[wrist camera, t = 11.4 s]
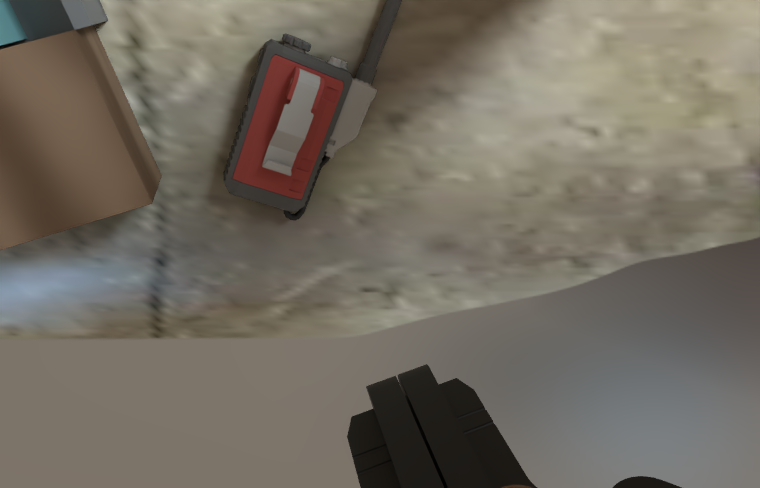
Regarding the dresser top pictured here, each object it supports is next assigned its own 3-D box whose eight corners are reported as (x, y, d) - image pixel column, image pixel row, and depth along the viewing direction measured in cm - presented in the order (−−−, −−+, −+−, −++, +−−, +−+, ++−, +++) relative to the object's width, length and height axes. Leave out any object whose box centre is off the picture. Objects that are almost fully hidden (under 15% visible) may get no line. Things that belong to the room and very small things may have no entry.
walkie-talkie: (318, 221, 47) (411, -19, 40) (326, 242, 43) (431, -19, 37) (214, 190, 43) (299, -75, 37) (213, 211, 39) (307, -82, 33)
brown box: (93, 24, 36) (70, 30, 31) (161, 175, 41) (152, 203, 36) (-96, 74, 35) (-154, 90, 30) (-1, 224, 40) (-36, 260, 35)
